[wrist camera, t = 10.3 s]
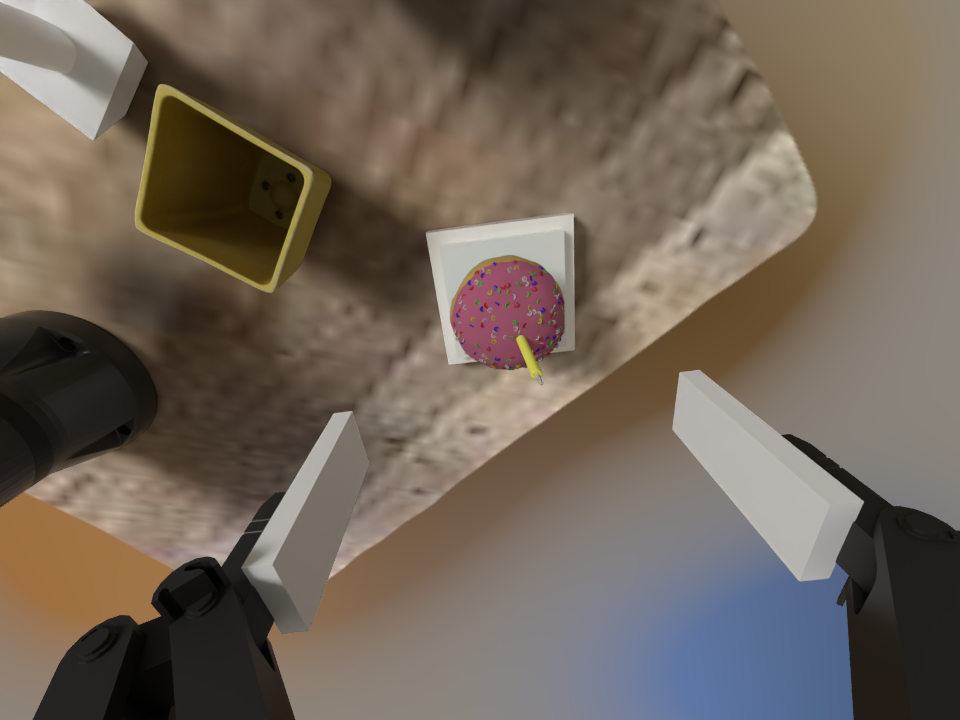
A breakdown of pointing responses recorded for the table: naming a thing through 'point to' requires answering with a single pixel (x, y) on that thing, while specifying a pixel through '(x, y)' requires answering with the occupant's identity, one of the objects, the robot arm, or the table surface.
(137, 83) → the figurine
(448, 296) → the pedestal
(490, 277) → the cupcake
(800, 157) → the table surface
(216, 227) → the flower pot
